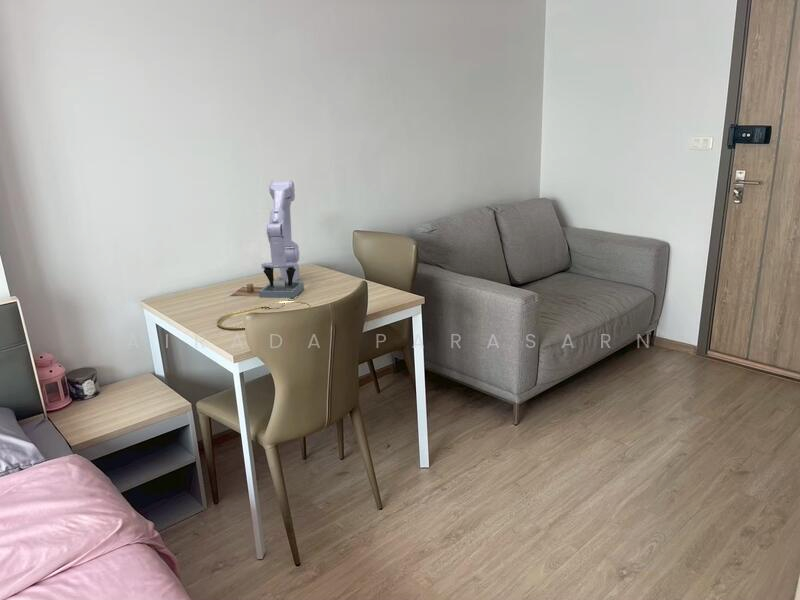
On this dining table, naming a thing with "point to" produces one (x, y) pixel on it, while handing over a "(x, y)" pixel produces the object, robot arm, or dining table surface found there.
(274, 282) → the metal block
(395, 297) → the dining table surface
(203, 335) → the dining table surface
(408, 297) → the dining table surface
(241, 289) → the stud base
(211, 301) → the dining table surface
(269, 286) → the bin
